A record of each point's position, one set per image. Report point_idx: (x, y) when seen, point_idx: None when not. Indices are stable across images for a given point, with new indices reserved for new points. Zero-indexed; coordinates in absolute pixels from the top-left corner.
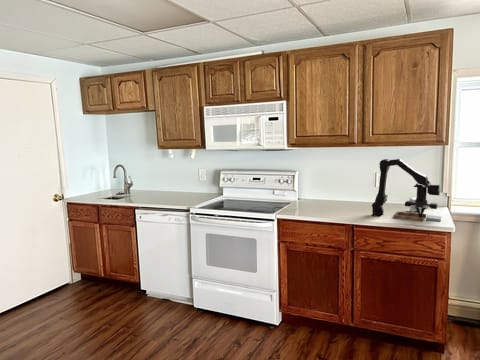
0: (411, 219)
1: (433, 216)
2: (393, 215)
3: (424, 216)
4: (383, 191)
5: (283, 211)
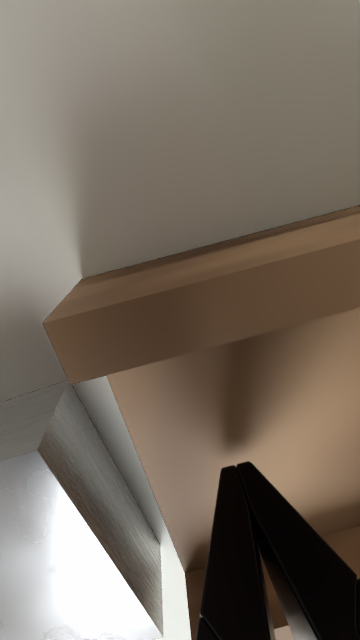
0: None
1: (6, 632)
2: None
3: None
4: None
5: None
